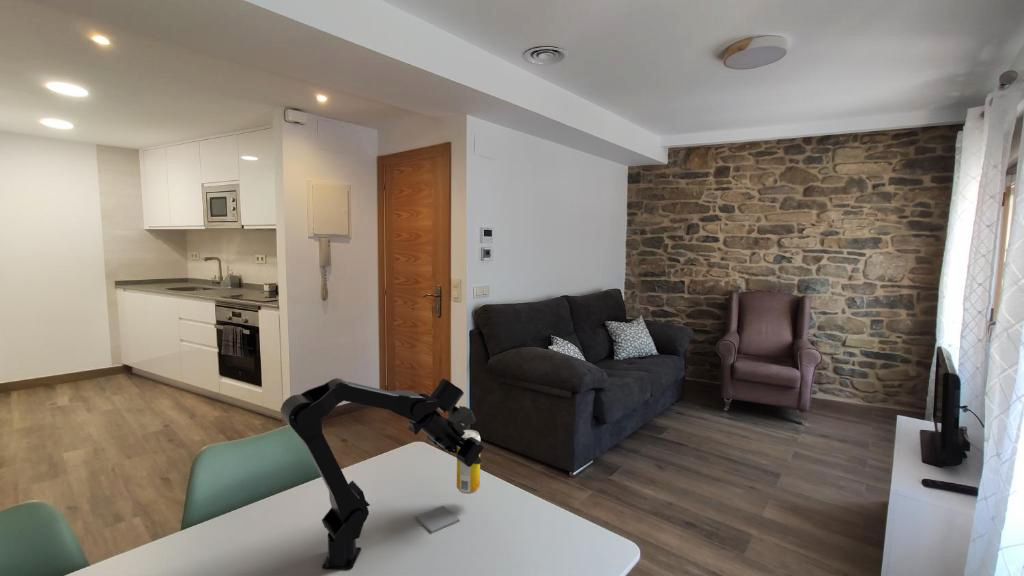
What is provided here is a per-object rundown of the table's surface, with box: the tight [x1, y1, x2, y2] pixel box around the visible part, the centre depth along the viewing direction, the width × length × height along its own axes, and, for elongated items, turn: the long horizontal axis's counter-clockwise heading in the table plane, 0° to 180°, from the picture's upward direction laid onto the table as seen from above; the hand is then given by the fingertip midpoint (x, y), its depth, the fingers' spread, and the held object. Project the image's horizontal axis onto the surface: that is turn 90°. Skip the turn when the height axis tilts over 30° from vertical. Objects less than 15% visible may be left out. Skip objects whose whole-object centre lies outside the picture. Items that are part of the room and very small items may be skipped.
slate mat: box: [415, 505, 461, 534], centre depth 117 cm, size 8×8×1 cm
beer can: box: [456, 429, 481, 495], centre depth 122 cm, size 6×6×15 cm
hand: (472, 457), depth 123 cm, fingers closed on beer can, 6 cm apart
